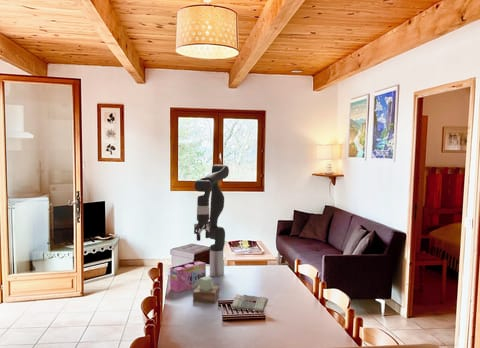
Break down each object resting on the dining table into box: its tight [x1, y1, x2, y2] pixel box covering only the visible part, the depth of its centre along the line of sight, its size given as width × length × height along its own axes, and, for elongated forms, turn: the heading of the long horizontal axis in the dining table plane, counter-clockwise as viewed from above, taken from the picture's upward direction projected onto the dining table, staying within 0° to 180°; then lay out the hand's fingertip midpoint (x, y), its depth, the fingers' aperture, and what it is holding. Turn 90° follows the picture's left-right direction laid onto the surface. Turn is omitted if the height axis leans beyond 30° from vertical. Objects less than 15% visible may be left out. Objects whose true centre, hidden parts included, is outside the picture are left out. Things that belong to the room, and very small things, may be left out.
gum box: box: [169, 259, 207, 293], centre depth 230 cm, size 24×8×14 cm, turn 138°
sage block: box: [200, 276, 213, 291], centre depth 210 cm, size 5×5×6 cm
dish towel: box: [230, 294, 269, 313], centre depth 203 cm, size 19×18×3 cm
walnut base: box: [192, 285, 220, 305], centre depth 210 cm, size 12×12×6 cm
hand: (202, 239), depth 226 cm, fingers open, 8 cm apart
